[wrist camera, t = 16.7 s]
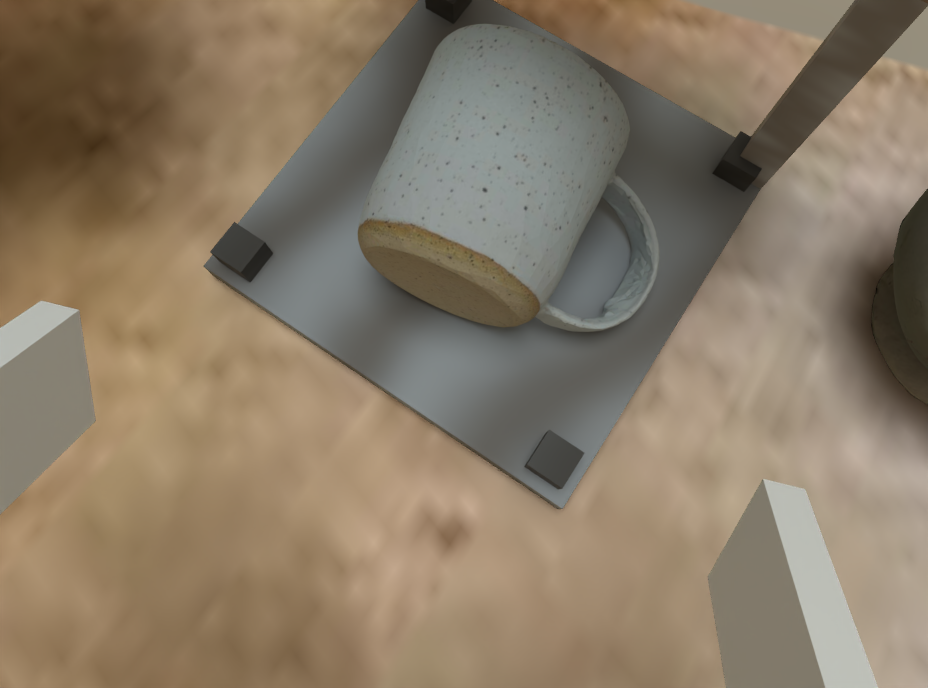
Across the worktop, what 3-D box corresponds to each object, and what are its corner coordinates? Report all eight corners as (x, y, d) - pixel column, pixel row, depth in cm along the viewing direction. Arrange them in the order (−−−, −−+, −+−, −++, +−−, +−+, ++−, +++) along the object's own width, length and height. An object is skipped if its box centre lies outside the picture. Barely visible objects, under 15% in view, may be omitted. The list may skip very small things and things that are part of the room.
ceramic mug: (357, 285, 27) (322, 201, 20) (439, 116, 29) (435, -19, 22) (606, 389, 26) (667, 342, 19) (675, 209, 28) (754, 102, 21)
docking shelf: (213, 276, 29) (-206, -122, 11) (442, -9, 32) (415, -674, 14) (558, 508, 26) (757, 498, 8) (765, 175, 30) (1221, -338, 12)
